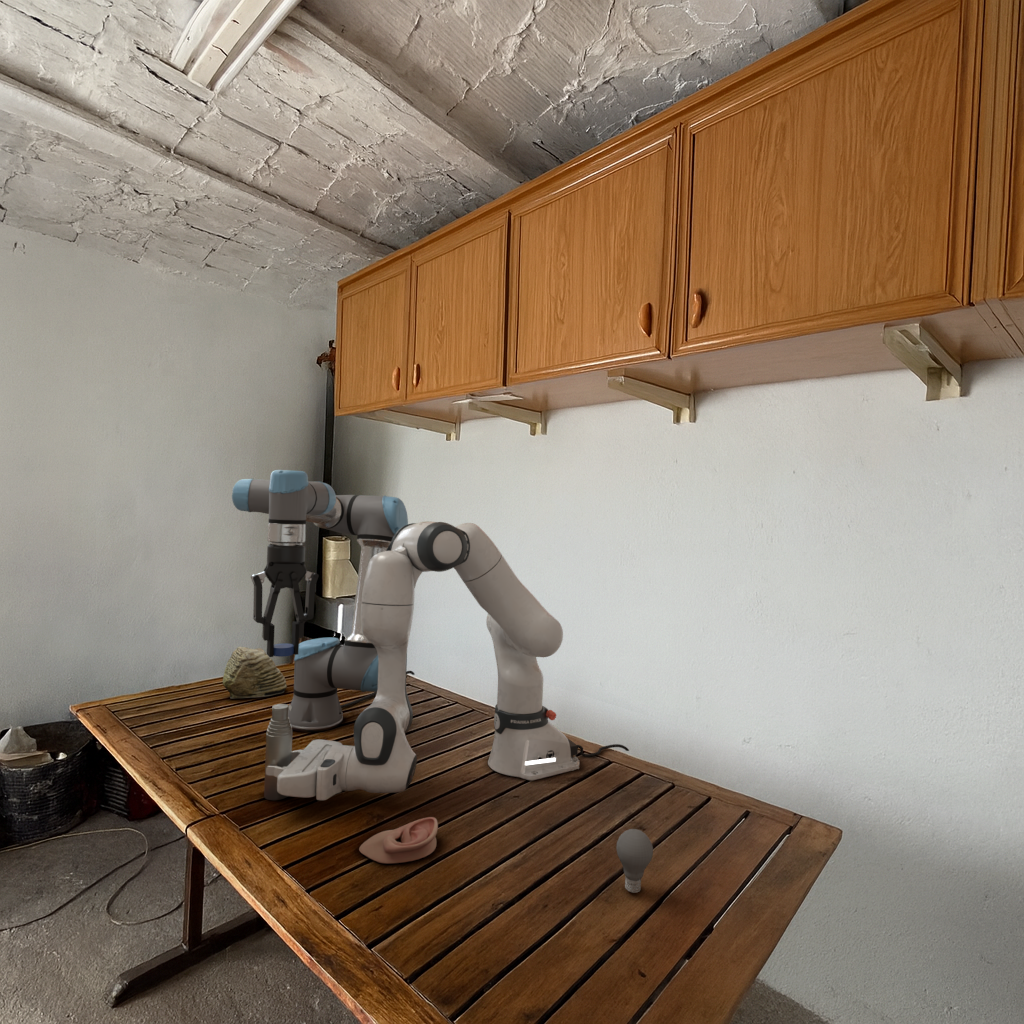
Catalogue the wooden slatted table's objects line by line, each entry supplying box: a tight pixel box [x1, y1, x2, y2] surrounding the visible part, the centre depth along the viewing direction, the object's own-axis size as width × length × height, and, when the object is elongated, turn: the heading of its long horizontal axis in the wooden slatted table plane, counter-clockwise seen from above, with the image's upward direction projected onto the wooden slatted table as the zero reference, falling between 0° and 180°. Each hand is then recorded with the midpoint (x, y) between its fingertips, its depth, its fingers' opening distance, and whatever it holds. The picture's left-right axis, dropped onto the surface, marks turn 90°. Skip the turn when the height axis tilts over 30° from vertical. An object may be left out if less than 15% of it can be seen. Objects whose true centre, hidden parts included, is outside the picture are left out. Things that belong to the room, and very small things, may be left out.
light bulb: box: [615, 828, 654, 894], centre depth 106 cm, size 6×6×10 cm
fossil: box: [222, 646, 288, 699], centre depth 198 cm, size 9×18×15 cm, turn 132°
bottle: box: [263, 703, 293, 801], centre depth 134 cm, size 5×5×19 cm
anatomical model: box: [358, 816, 439, 864], centre depth 116 cm, size 13×4×12 cm
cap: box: [273, 643, 294, 658], centre depth 133 cm, size 4×4×2 cm
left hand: (282, 654), depth 133 cm, fingers closed on cap, 4 cm apart
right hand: (274, 762), depth 134 cm, fingers closed on bottle, 5 cm apart
